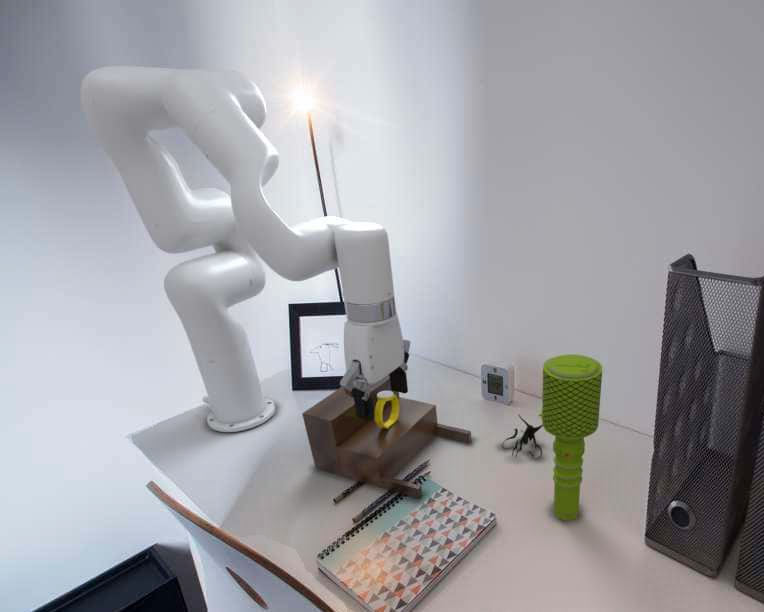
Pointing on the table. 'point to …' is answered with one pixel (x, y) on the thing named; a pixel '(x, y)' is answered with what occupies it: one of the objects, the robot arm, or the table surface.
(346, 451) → the step shelf
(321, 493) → the table surface
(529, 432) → the creature
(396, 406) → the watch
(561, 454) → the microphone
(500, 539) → the table surface
